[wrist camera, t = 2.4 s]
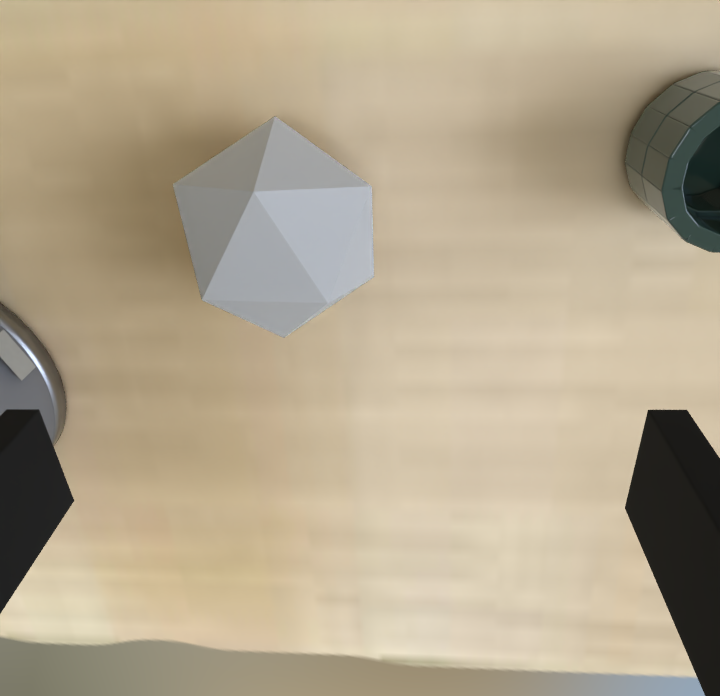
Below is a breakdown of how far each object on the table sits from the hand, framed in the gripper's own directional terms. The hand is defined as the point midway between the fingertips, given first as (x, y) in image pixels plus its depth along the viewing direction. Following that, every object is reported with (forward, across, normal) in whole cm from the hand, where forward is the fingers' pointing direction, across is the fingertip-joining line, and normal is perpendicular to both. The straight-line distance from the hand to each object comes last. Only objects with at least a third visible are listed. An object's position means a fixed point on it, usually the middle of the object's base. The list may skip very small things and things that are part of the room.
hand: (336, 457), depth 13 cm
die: (+20, -4, 0) cm, 21 cm away
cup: (+20, +15, +2) cm, 25 cm away
